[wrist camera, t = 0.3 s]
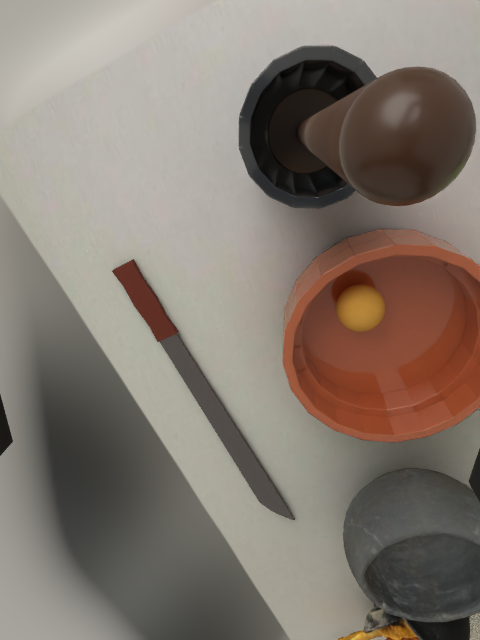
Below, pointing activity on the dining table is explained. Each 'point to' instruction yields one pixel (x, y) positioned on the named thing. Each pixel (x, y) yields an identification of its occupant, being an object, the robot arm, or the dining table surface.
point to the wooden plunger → (380, 134)
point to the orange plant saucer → (387, 338)
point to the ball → (360, 308)
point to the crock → (264, 95)
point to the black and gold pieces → (409, 628)
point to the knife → (199, 387)
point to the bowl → (416, 545)
